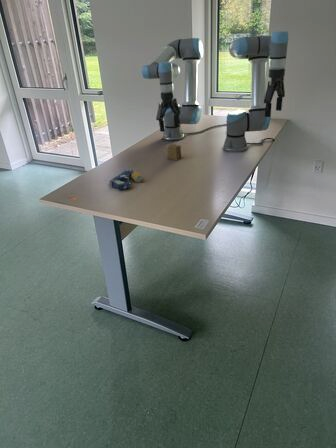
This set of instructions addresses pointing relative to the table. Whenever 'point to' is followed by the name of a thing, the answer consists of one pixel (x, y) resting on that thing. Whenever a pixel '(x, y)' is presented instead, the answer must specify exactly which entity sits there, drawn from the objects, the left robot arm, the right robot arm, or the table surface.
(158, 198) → the table surface
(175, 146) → the block
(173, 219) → the table surface
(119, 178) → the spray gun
